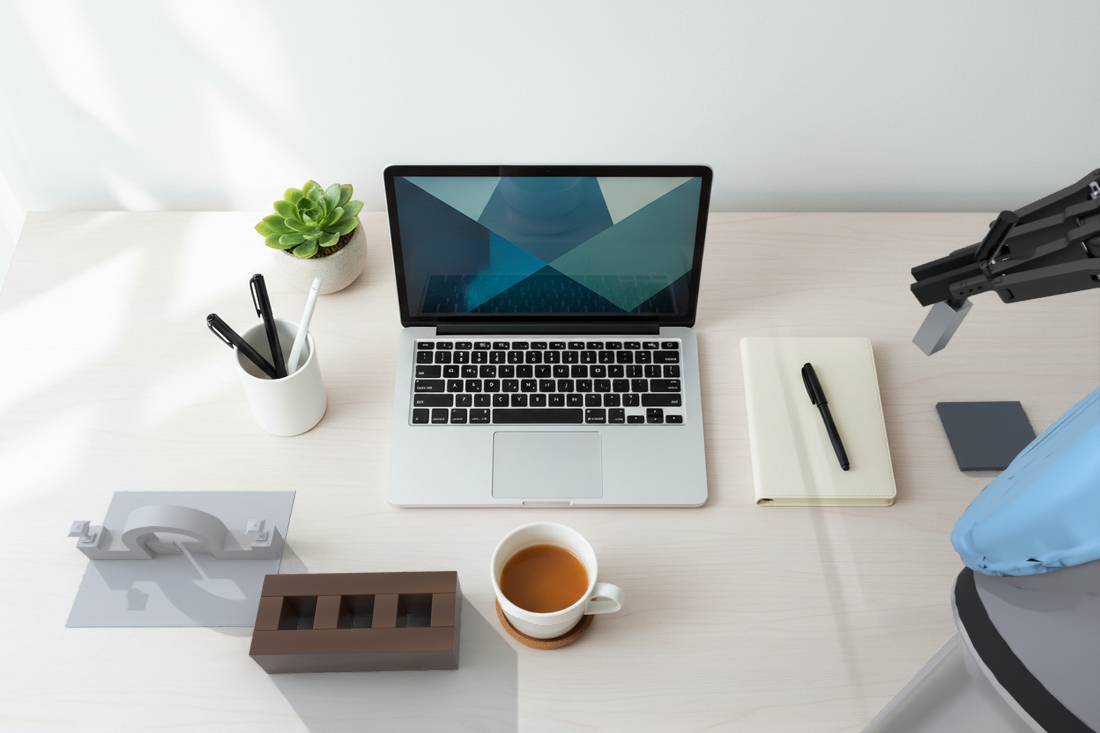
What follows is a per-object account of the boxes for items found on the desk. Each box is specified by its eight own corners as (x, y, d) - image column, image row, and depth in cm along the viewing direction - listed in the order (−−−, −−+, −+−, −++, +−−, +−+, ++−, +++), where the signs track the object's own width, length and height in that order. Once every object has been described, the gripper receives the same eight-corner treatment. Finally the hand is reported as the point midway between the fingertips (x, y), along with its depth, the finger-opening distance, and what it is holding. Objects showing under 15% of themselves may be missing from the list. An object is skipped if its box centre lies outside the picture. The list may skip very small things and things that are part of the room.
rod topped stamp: (927, 356, 81) (1010, 229, 67) (911, 341, 83) (989, 212, 68) (944, 348, 82) (1030, 220, 68) (927, 332, 83) (1008, 203, 69)
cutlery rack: (458, 669, 75) (453, 650, 71) (267, 674, 75) (248, 655, 70) (462, 593, 80) (457, 570, 75) (281, 596, 80) (264, 574, 75)
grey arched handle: (90, 559, 82) (52, 526, 75) (98, 539, 83) (61, 504, 77) (278, 559, 82) (256, 525, 75) (283, 538, 83) (261, 504, 77)
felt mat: (1046, 469, 89) (1050, 466, 89) (960, 471, 89) (963, 467, 88) (1016, 404, 95) (1019, 400, 94) (935, 405, 94) (937, 402, 94)
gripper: (1253, 287, 58) (932, 366, 74) (1216, 166, 67) (935, 261, 83) (1225, 218, 55) (895, 317, 71) (1189, 101, 63) (902, 213, 80)
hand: (917, 287), depth 77 cm, fingers closed on rod topped stamp, 1 cm apart
